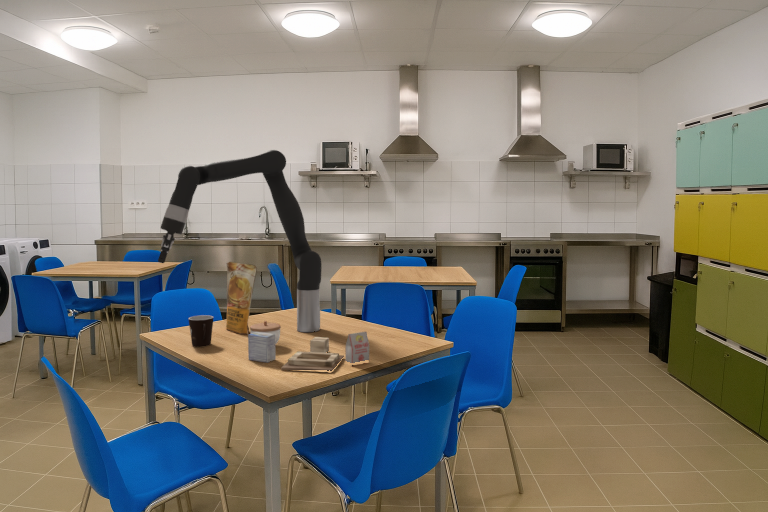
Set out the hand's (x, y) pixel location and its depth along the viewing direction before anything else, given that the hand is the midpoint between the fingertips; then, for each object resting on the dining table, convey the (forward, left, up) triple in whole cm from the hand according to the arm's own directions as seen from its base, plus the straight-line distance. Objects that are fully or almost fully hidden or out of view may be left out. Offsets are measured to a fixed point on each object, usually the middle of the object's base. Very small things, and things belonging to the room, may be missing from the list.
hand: (161, 262), depth 176 cm
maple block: (-15, +56, -30) cm, 66 cm away
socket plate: (-3, +61, -30) cm, 69 cm away
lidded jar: (-14, +34, -30) cm, 48 cm away
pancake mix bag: (-30, +9, -30) cm, 44 cm away
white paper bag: (-10, +73, -30) cm, 80 cm away
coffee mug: (-5, +12, -30) cm, 33 cm away
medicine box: (0, +43, -30) cm, 53 cm away
